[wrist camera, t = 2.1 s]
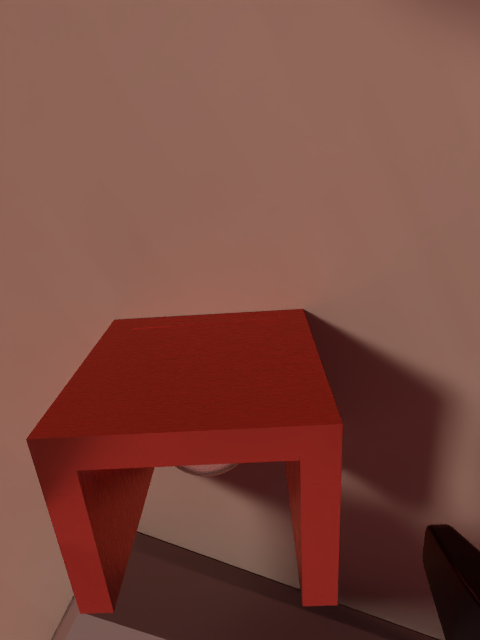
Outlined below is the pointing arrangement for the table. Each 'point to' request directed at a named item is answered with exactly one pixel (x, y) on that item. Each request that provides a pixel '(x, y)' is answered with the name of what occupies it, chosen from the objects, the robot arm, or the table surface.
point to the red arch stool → (189, 436)
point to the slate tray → (214, 605)
